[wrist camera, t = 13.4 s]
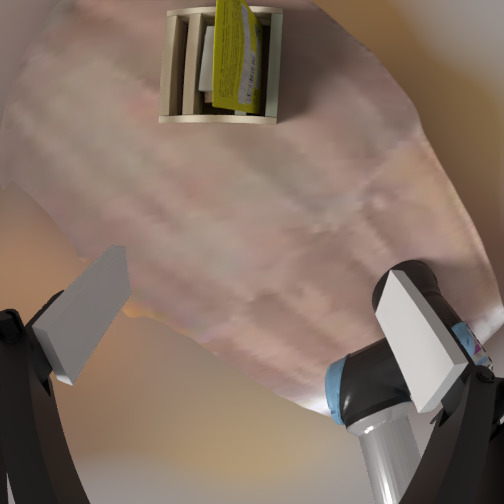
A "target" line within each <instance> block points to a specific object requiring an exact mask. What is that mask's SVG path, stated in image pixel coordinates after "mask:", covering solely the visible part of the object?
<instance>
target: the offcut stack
mask: <svg viewBox="0 0 504 504" xmlns="http://www.w3.org/2000/svg"><path fill="white" fill-rule="evenodd" d="M214 31H215V26H207V30H206V35H204V50H203V57H202V65H201V73H200V81H199V91H201V92H205V100H204V103H207V104H209V103H213V52H214Z"/></svg>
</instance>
